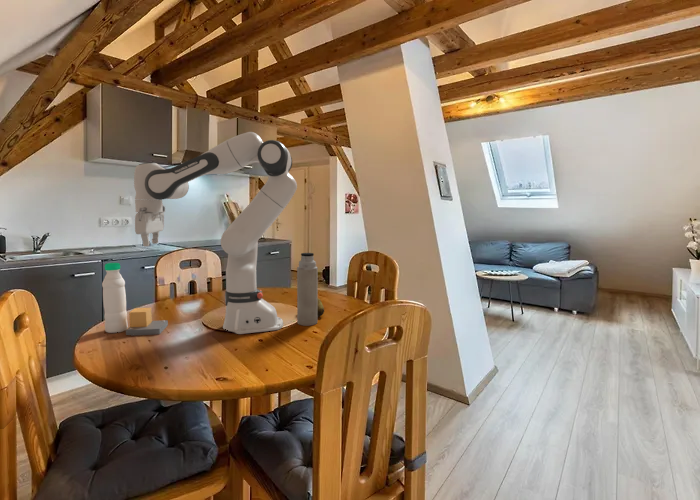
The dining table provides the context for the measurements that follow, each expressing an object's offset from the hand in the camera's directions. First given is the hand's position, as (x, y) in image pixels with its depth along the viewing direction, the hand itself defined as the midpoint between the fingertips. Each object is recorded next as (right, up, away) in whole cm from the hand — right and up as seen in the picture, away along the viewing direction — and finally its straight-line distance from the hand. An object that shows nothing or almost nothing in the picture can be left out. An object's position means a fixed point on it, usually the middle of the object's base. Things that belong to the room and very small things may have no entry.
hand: (151, 244), depth 140 cm
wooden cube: (-3, -30, -2) cm, 30 cm away
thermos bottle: (+58, -31, +9) cm, 66 cm away
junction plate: (0, -32, -2) cm, 32 cm away
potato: (+59, -30, +21) cm, 69 cm away
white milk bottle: (-11, -32, -3) cm, 34 cm away
